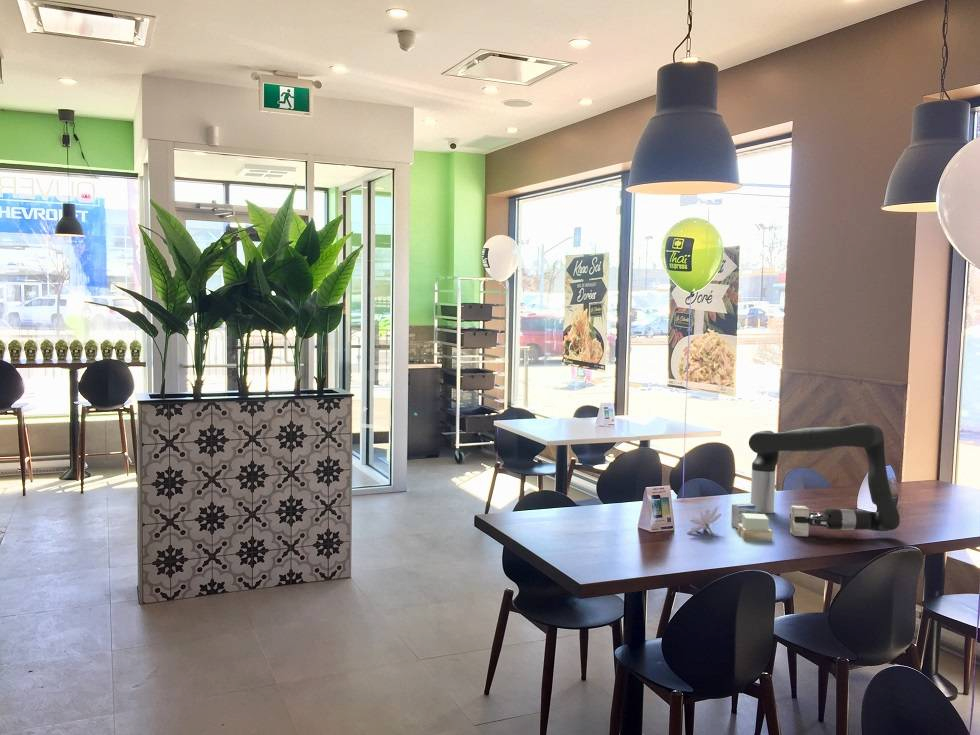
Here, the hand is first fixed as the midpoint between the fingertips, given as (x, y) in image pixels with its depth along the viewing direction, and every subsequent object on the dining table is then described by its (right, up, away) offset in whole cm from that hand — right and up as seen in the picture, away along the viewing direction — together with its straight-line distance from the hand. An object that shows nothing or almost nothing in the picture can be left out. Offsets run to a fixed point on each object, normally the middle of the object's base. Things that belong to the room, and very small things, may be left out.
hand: (792, 517), depth 306 cm
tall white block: (+3, -6, 0) cm, 7 cm away
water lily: (-32, -6, +1) cm, 33 cm away
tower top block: (-15, -3, -3) cm, 15 cm away
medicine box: (-15, -6, +11) cm, 19 cm away
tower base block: (-15, -7, -3) cm, 17 cm away
